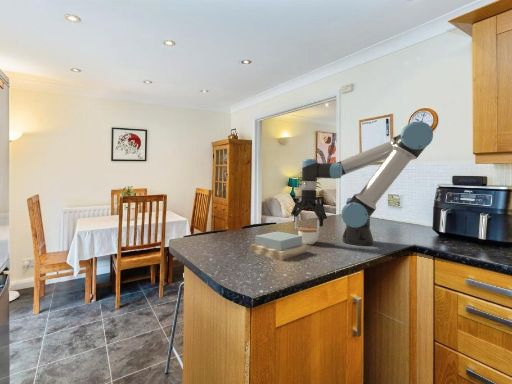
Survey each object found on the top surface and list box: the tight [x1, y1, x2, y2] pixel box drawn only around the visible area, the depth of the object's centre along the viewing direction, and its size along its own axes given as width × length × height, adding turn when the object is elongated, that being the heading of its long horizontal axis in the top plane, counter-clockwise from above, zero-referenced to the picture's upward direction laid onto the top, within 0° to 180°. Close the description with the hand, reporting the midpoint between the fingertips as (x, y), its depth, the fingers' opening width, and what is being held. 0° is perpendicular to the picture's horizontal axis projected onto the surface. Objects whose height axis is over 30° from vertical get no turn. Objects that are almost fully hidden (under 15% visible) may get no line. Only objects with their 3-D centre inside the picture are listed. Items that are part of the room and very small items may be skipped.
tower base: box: [249, 243, 307, 261], centre depth 124 cm, size 18×18×4 cm
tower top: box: [254, 231, 303, 251], centre depth 124 cm, size 15×15×4 cm
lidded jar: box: [297, 224, 320, 245], centre depth 141 cm, size 11×11×9 cm
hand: (307, 230), depth 141 cm, fingers open, 13 cm apart
